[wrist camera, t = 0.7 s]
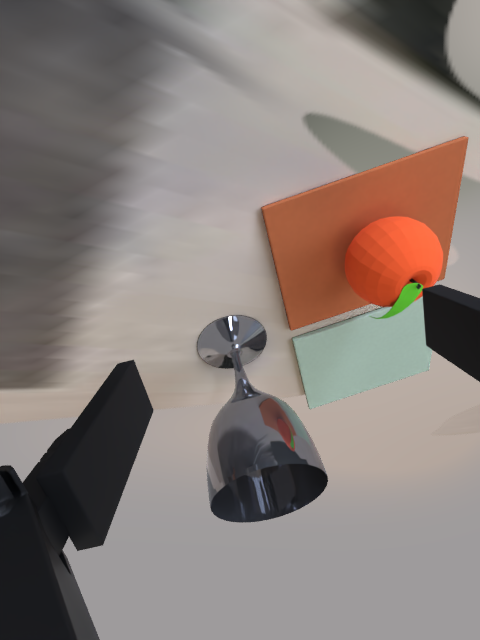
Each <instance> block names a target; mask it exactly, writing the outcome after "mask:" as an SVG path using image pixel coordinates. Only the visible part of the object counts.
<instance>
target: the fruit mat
mask: <svg viewBox="0 0 480 640" xmlns="http://www.w3.org/2000/svg"><path fill="white" fill-rule="evenodd" d="M467 143H468V137H465V136H464V137H461V138H458V139H455V140H452V141H449V142H446V143H444V144H441V145H438V146H435V147H432V148H429V149H426V150H424V151H421V152H418V153H415V154H412V155H410V156H406V157H404V158H401V159H398V160H395V161H392V162H389V163H386V164H384V165H381V166H378V167H375V168H373V169H370V170H366V171H364V172H361V173H358V174H355V175H352V176H349V177H346V178H344V179H341V180H338V181H335V182H332V183H329V184H326V185H324V186H321V187H318V188H315V189H312V190H309V191H306V192H304V193H301V194H298V195H295V196H292V197H289V198H286V199H284V200H281V201H278V202H275V203H272V204H269V205H267V206H264V207H261V209H262V213H263V217H264V221H265V225H266V230H267V234H268V238H269V242H270V247H271V251H272V255H273V259H274V263H275V268H276V272H277V276H278V280H279V285H280V289H281V293H282V297H283V301H284V306H285V310H286V314H287V318H288V323H289V327H290V329H291V330H294V329H297V328H300V327H303V326H306V325H309V324H312V323H315V322H318V321H321V320H324V319H327V318H330V317H333V316H336V315H339V314H342V313H345V312H348V311H351V310H354V309H357V308H360V307H362V306H365V305H368V304H371V303H369V302H367V301H365V300H364V299H363V298H361V297H360V296H359V295H357V294H356V293H355V292H354V290H353V289H352V287H351V286H350V284H349V282H348V280H347V278H346V274H345V255H346V252H347V249H348V247H349V245H350V243H351V242H352V240H353V239H354V237H355V236H356V235H357V234H358V233H359V232H360V231H361V230H362V229H363V228H365V227H366V226H367V225H369V224H370V223H372V222H374V221H377V220H379V219H382V218H386V217H394V216H400V217H409V218H412V219H414V220H417V221H419V222H422V223H424V224H425V225H426V226H427V227H429V228H430V229H431V230H432V231H433V233H434V234H435V235H436V236H437V237H438V240H439V242H440V245H441V248H442V251H443V265H442V270H441V274H440V276H439V278H438V280H437V281H439V280H442V279H444V278H445V272H446V266H447V260H448V254H449V249H450V243H451V237H452V231H453V225H454V218H455V213H456V207H457V202H458V196H459V190H460V183H461V178H462V172H463V166H464V161H465V155H466V149H467Z"/></svg>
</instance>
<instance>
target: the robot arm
mask: <svg viewBox="0 0 480 640" xmlns="http://www.w3.org/2000/svg"><path fill="white" fill-rule="evenodd" d="M422 295H423V309H424V324H425V338H426V346H427V347H429V348H430V349H432V350H433V351H435V352H436V353H438V354H439V355H441V356H442V357H444V358H445V359H447V360H448V361H450V362H452V363H453V364H454V365H456V366H457V367H459V368H460V369H462V370H463V371H464V372H466V373H468V374H469V375H470V376H472V377H474V378H475V379H476V380H478V381H479V382H480V298H477V297H474V296H472V295H469V294H466V293H463V292H460V291H457V290H454V289H451V288H448V287H445V286H443V285H436V286H432V287H428V288H423V289H422ZM152 413H153V408H152V405H151V403H150V400H149V398H148V395H147V393H146V390H145V387H144V385H143V382H142V380H141V377H140V375H139V372H138V370H137V367H136V365H135V362H134V360H131V361H127V362H123V363H119V364H117V365H116V367H115V368H114V369H113V371H112V372H111V373H110V375H109V376H108V378H107V379H106V380H105V382H104V383H103V384H102V386H101V387H100V389H99V390H98V391H97V393H96V394H95V395H94V397H93V398H92V400H91V401H90V402H89V404H88V405H87V406H86V408H85V409H84V411H83V412H82V413H81V415H80V416H79V417H78V419H77V420H76V422H75V423H74V425H73V426H72V427H71V428H70V429H67V430H66V431H65V432H64V433H63V434H61V435H60V436H59V437H58V438H57V439H56V440H55V441H54V442H53V443H52V445H51V446H50V448H49V449H48V450H47V453H45V454H44V455H43V457H42V458H41V459H40V462H38V463H37V465H36V466H35V467H34V469H33V470H32V471H31V473H30V474H29V475H28V476H27V478H26V479H25V481H24V482H23V483H22V482H21V480H20V478H19V477H18V475H17V473H16V471H15V470H14V468H13V467H11V466H1V467H0V640H100V639H99V637H98V634H97V632H96V629H95V627H94V625H93V622H92V620H91V617H90V615H89V612H88V609H87V607H86V604H85V602H84V599H83V597H82V594H81V592H80V589H79V587H78V584H77V582H76V579H75V577H74V574H73V572H72V569H71V566H70V564H69V562H68V559H67V557H66V555H65V554H64V552H63V550H62V549H63V547H64V545H65V543H66V541H67V539H68V537H70V539H71V540H72V542H73V544H74V546H75V547H76V549H77V551H79V550H83V549H88V548H92V547H97V546H101V545H103V544H104V541H105V538H106V536H107V533H108V530H109V528H110V525H111V522H112V520H113V517H114V514H115V511H116V509H117V506H118V504H119V501H120V498H121V496H122V493H123V490H124V487H125V485H126V482H127V480H128V477H129V474H130V471H131V469H132V466H133V464H134V461H135V458H136V456H137V453H138V450H139V448H140V445H141V442H142V440H143V437H144V434H145V432H146V429H147V426H148V424H149V421H150V418H151V416H152Z"/></svg>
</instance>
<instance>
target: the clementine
mask: <svg viewBox="0 0 480 640" xmlns="http://www.w3.org/2000/svg"><path fill="white" fill-rule="evenodd" d="M442 265H443V251H442V248H441V245H440V242H439V240H438V237H437V236H436V235H435V234H434V233H433V231H432V230H431V229H430V228H429V227H427V226H426V225H425V224H424V223H422V222H419V221H417V220H414V219H412V218H409V217H400V216H394V217H386V218H382V219H379V220H377V221H374V222H372V223H370V224H369V225H367V226H366V227H365V228H363V229H362V230H361V231H360V232H359V233H358V234H357V235H356V236H355V237H354V239H353V240H352V242H351V243H350V245H349V247H348V249H347V252H346V255H345V274H346V278H347V280H348V282H349V284H350V286H351V287H352V289H353V290H354V292H355V293H356V294H357V295H359V296H360V297H361V298H363V299H364V300H365V301H367V302H369V303H372V304H375V305H378V306H382V307H392V308H391V309H390V311H389V312H387V313H386V314H385V315H383V316H382V317H379V318H375V317H372V316H370V317H372V318H375V319H385V318H389V317H392V316H394V315H396V314H398V313H400V312H402V311H403V310H404V309H406V308H407V307H408V306H409V305H410V304H411V303H413V302H414V301H416V300H418V299H419V298H421V297H422V296H423V295H422V289H423V288H428V287H432V286H434V284H435V283H436V282H437V280H438V278H439V276H440V274H441V270H442Z"/></svg>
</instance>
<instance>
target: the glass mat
mask: <svg viewBox="0 0 480 640" xmlns="http://www.w3.org/2000/svg"><path fill="white" fill-rule="evenodd" d="M391 308H392V307H383V308H380V309H377V310H374V311H371V312H368V313H365V314H362V315H359V316H356V317H353V318H350V319H347V320H344V321H341V322H338V323H335V324H332V325H329V326H326V327H324V328H321V329H318V330H315V331H312V332H309V333H306V334H303V335H300V336H297V337H294V338H292V340H293V344H294V348H295V352H296V356H297V361H298V365H299V369H300V373H301V378H302V382H303V386H304V390H305V394H306V399H307V403H308V407H309V409H312V408H315V407H318V406H321V405H324V404H327V403H330V402H333V401H336V400H340V399H342V398H346V397H349V396H352V395H355V394H357V393H361V392H364V391H367V390H370V389H373V388H376V387H379V386H382V385H385V384H388V383H391V382H394V381H397V380H400V379H403V378H406V377H409V376H412V375H415V374H418V373H421V372H424V371H427V370H429V366H430V360H431V354H432V349H430V348H429V347H427V346H426V338H425V324H424V309H423V296H422V297H421V298H419V299H418V300H416V301H414V302H413V303H411V304H410V305H409V306H408V307H407V308H406V309H404V310H403V311H402V312H400V313H398V314H396V315H394V316H392V317H389V318H385V319H375V318H379V317H382V316H383V315H385V314H386V313H387V312H389V311H390V309H391ZM370 316H372V317H375V318H372V317H370Z"/></svg>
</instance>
